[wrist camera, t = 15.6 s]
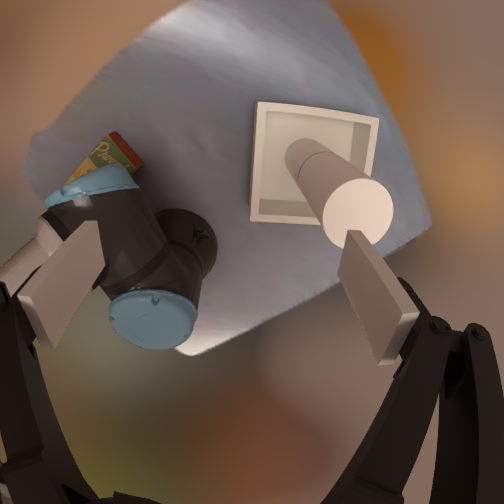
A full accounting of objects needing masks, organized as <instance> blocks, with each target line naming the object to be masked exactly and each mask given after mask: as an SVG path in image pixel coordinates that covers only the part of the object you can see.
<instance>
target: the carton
mask: <svg viewBox="0 0 504 504" xmlns="http://www.w3.org/2000/svg"><path fill="white" fill-rule="evenodd" d="M113 163H117V164H121V165H123V166H124V167H125V168H126V169H127V171H128V173H129V174H130V176H131V175H132V174H133V173H135V172H136V171H137V170H138V169H139V168H140V167H142V166H143V163H144V162H143V161H142V160H141V159H140V158H139V157H138V156H137V154H136V153H135V152H134V151H133V150H132V149H131V148H130V147H129V145H128V144H127V143H126V142H125V141H124V140H123V139H122V137H121V136H120V135H119V134H118V133H117V132H112V133H110V134H108V135H107V136H106V137H105V138H104V139H103V140H102V141H101V142H100V143H99V144H98V145H97V146H96V147H95V149H94V150H93V151H92V152H91V153H90V154H89V155H88V157H87V158H86V159H85V160H84V161H83V162H82V163H81V165H80V166H79V167H78V168H77V169H76V170H75V172H74V173H73V174H72V175H71V177H70V178H69V179H68V180H67V182H66V183H65V184H64V185H63V186H66V185H67V184H68V183H70V182H72V181H73V180H75V179H77V178H79V177H81V176H83V175H85V174H87V173H89V172H91V171H93V170H96V169H98V168H100V167H103V166H106V165H108V164H113Z"/></svg>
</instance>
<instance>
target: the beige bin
mask: <svg viewBox="0 0 504 504" xmlns="http://www.w3.org/2000/svg"><path fill="white" fill-rule="evenodd" d="M378 124H379V119H378V118H374V117H369V116H365V115H360V114H354V113H349V112H343V111H337V110H331V109H324V108H317V107H310V106H302V105H293V104H283V103H271V102H258V101H255V114H254V129H253V144H252V160H251V176H250V192H249V214H250V221H253V222H275V223H295V224H312V225H321V224H320V223H319V221H318V219H317V217H316V216H315V214H314V212H313V210H312V209H311V207H310V205H309V204H308V202H307V200H306V199H305V197H304V195H303V194H302V192H301V190H300V189H299V187H298V185H297V184H296V182H295V180H294V179H293V177H292V176H291V174H290V172H289V171H288V169H287V167H286V165H285V153H286V150H287V148H288V147H289V146H290V145H291V143H293V142H294V141H296V140H298V139H302V138H309V139H313V140H315V141H317V142H318V143H320V144H322V145H323V146H325V147H326V148H328V149H330V150H331V151H333V152H334V153H336V154H337V155H339V156H340V157H342V158H343V159H345V160H346V161H348V162H349V163H351V164H352V165H354V166H355V167H357V168H358V169H360V170H361V171H363V172H364V173H365V174H367V175H368V176H371V170H372V164H373V158H374V152H375V146H376V139H377V132H378Z"/></svg>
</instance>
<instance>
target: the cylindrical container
mask: <svg viewBox="0 0 504 504" xmlns="http://www.w3.org/2000/svg"><path fill="white" fill-rule="evenodd" d="M285 165H286V167H287V169H288V171H289V172H290V174H291V176H292V177H293V179H294V180H295V182H296V184H297V185H298V187H299V189H300V190H301V192H302V194H303V195H304V197H305V199H306V200H307V202H308V204H309V205H310V207H311V209H312V210H313V212H314V214H315V216H316V217H317V219H318V221H319V223H320V224H321V226H322V228H323V230H324V231H325V233H326V235H327V236H328V238H329V239H330V240H331V241H332V242H333V243H334V244H335V245H337V246H339V247H341V248H344V244H345V239H346V235H347V230H361V231H362V233H363V234H364V235H365V236H366V238H367V239H368V240H369V242H370V243H371V244H372V245H373V244H374V243H376V242H377V241H378V240H379V239H380V238H381V237H382V236H383V235H384V234H385V233H386V231H387V230H388V228H389V226H390V224H391V221H392V217H393V203H392V200H391V197H390V195H389V193H388V191H387V190H386V189H385V188H384V187H383V186H382V185H381V184H379V183H378V182H377V181H375V180H374V179H373V178H371V177H370V176H368V175H367V174H365V173H364V172H363V171H361V170H360V169H358V168H357V167H355V166H354V165H352V164H351V163H349V162H348V161H346V160H345V159H343V158H342V157H340V156H339V155H337V154H336V153H334V152H333V151H331V150H330V149H328V148H326V147H325V146H323V145H322V144H320V143H318V142H317V141H315V140H313V139H309V138H302V139H298V140H296V141H294V142H293V143H291V145H290V146H289V147H288V148H287V150H286V153H285Z"/></svg>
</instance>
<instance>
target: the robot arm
mask: <svg viewBox="0 0 504 504" xmlns="http://www.w3.org/2000/svg"><path fill="white" fill-rule="evenodd" d="M139 189H140V188H139V186H138V185H136V184H135V182H134V181H133V179H132V177H131V176H130V174H129V173H128V171H127V169H126V168H125V167H124V166H123V165H121V164H117V163H113V164H108V165H106V166H103V167H100V168H98V169H96V170H93V171H91V172H89V173H87V174H85V175H83V176H81V177H79V178H77V179H75V180H73V181H72V182H70V183H68V184H67V185H66V186H63V187H62V188H60V189H58V190H56V191H55V192H53V193H52V194H50V195H49V196H48V197H47V198H46V200H45V203H46V208H47V209H49V210H48V211H46V212H45V213H44V214H43V215H41V216H40V217H39V218H38V221H37V226H36V233H35V235H34V237H33V238H32V239H31V240H30V241H28V242H27V243H26V244H25V245H24V246H23V247H22V248H21V249H19V250H18V251H17V252H16V253H15V254H14V255H13V256H12V257H11V258H10V259H9V260H8V261H6V262H5V263H4V264H3V265H2V266H1V267H0V432H1V437H2V441H3V444H4V448H5V452H6V456H7V462H5V463H2V462H1V460H0V504H161V503H158V502H156V501H153V500H151V499H146V498H141V497H136V496H132V495H127V494H123V493H119V492H114V494H113V497H109V498H101V499H99V498H98V496H97V495H96V494H95V492H94V491H93V490H92V488H91V487H90V486H89V485H88V484H87V482H86V481H85V479H84V478H83V476H82V474H81V472H80V470H79V468H78V466H77V465H76V462H75V460H74V458H73V456H72V454H71V451H70V449H69V447H68V445H67V443H66V440H65V438H64V435H63V433H62V430H61V428H60V425H59V423H58V420H57V418H56V415H55V412H54V410H53V407H52V404H51V401H50V398H49V395H48V392H47V389H46V385H45V382H44V379H43V375H42V372H41V368H40V365H39V361H38V357H37V353H36V349H35V347H34V345H33V341H34V339H35V338H36V337H37V339H38V341H39V343H40V345H41V347H45V348H49V349H53V350H55V348H56V346H57V344H58V342H59V341H60V339H61V337H62V335H63V333H64V331H65V329H66V328H67V326H68V324H69V323H70V321H71V319H72V318H73V316H74V314H75V312H76V311H77V309H78V307H79V306H80V304H81V302H82V301H83V299H84V298H85V296H86V294H87V293H90V292H91V291H93V290H94V289H95V288H96V287H97V286H99V285H100V286H101V288H102V289H103V291H104V292H105V293H106V294H107V296H108V297H109V298H110V300H111V301H112V302H111V304H110V307H109V314H110V316H109V320H110V324H111V326H112V327H113V329H114V330H115V332H116V333H117V334H118V335H119V336H121V337H122V338H123V339H124V340H126V341H128V342H130V343H131V344H134V345H136V346H139V347H144V348H148V349H154V350H163V349H170V348H173V347H176V346H178V345H180V344H182V343H183V342H185V341H186V340H187V339H188V338H189V336H190V335H191V333H192V331H193V327H194V323H195V321H196V319H197V316H198V313H197V310H198V303H199V297H200V290H201V285H202V280H203V279H204V278H205V276H206V275H207V274H208V273H209V272H210V271H211V269H212V267H213V265H214V263H215V260H216V255H217V240H216V237H215V234H214V232H213V230H212V228H211V227H210V226H209V224H208V223H207V222H206V221H205V220H204V219H202V218H201V217H200V216H198V215H196V214H194V213H192V212H190V211H186V210H181V209H169V210H165V211H162V212H159V213H157V214H156V215H153V213H152V211H151V210H150V208H149V206H148V204H147V202H146V201H145V199H144V197H143V195H142V194H141V192H140V190H139ZM338 277H339V279H340V281H341V283H342V285H343V287H344V289H345V291H346V293H347V296H348V298H349V300H350V302H351V304H352V307H353V309H354V311H355V313H356V315H357V318H358V320H359V322H360V324H361V327H362V329H363V331H364V334H365V336H366V338H367V341H368V343H369V345H370V348H371V350H372V353H373V355H374V357H375V360H376V362H377V365H384V364H392V363H394V362H395V360H396V358H397V356H398V354H400V356H401V358H402V360H403V361H402V362H401V364H400V366H399V367H398V369H397V371H396V372H395V374H394V376H393V378H394V380H393V382H392V384H391V386H390V388H389V390H388V393H387V395H386V397H385V399H384V401H383V403H382V405H381V407H380V409H379V411H378V413H377V415H376V417H375V419H374V420H373V422H372V424H371V426H370V428H369V430H368V432H367V433H366V435H365V437H364V439H363V441H362V442H361V444H360V446H359V447H358V449H357V451H356V452H355V454H354V456H353V457H352V459H351V461H350V462H349V464H348V465H347V467H346V469H345V470H344V471H343V473H342V474H341V476H340V478H339V479H338V481H337V482H336V483H335V485H334V486H333V488H332V489H331V491H330V492H329V493H328V495H327V496H326V498H325V499H324V500H323V501H322V502H321V503H320V504H404V497H403V496H402V491H403V488H404V486H405V484H406V482H407V480H408V478H409V476H410V473H411V471H412V469H413V466H414V464H415V462H416V459H417V457H418V454H419V452H420V449H421V446H422V444H423V441H424V439H425V436H426V433H427V430H428V427H429V424H430V421H431V418H432V415H433V412H434V408H435V405H436V402H437V398H438V395H439V425H438V442H437V452H436V462H435V470H434V478H433V484H432V490H431V497H430V502H429V504H504V397H503V390H502V385H501V379H500V374H499V369H498V365H497V360H496V356H495V352H494V348H493V344H492V340H491V336H490V334H489V332H488V331H487V330H486V329H485V328H484V327H483V326H482V325H479V324H476V323H470V324H468V326H467V327H466V329H465V330H464V332H461V331H455V330H452V329H451V327H450V325H449V324H448V323H447V322H446V321H445V320H443V319H442V318H440V317H436V316H431V315H430V313H429V311H428V310H427V309H426V307H425V306H424V304H423V303H422V301H421V300H420V299H419V298H418V296H417V294H416V293H415V292H414V290H413V289H412V287H411V286H410V285H409V283H407V282H406V281H405V280H403V279H402V278H400V277H398V278H396V277H395V275H394V274H393V273H392V271H391V270H390V268H389V267H388V266H387V264H386V263H385V262H384V260H383V259H382V257H381V256H380V255H379V253H378V252H377V251H376V249H375V248H374V247H373V246H372V244H371V243H370V242H369V240H368V239H367V238H366V236H365V235H364V234H363V233H362V231H361V230H347V235H346V239H345V244H344V248H343V253H342V257H341V261H340V265H339V270H338Z"/></svg>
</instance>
